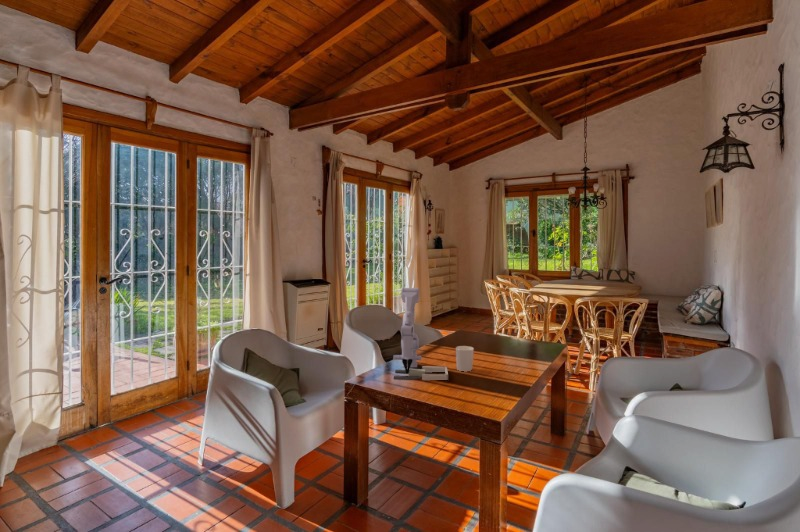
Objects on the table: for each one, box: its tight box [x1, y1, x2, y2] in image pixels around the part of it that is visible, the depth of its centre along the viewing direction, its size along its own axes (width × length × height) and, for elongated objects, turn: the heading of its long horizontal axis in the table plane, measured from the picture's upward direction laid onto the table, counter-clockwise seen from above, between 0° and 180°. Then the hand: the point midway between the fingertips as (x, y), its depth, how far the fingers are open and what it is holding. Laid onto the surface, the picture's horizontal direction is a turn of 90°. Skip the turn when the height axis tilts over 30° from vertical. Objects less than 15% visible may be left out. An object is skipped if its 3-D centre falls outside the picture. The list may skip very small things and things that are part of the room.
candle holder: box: [455, 345, 475, 373], centre depth 234 cm, size 10×10×12 cm
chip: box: [416, 368, 426, 378], centre depth 223 cm, size 4×4×3 cm
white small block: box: [408, 368, 418, 376], centre depth 223 cm, size 4×4×3 cm
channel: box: [393, 369, 420, 380], centre depth 224 cm, size 12×13×1 cm
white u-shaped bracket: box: [421, 365, 449, 381], centre depth 223 cm, size 14×13×3 cm
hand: (407, 373), depth 224 cm, fingers closed
